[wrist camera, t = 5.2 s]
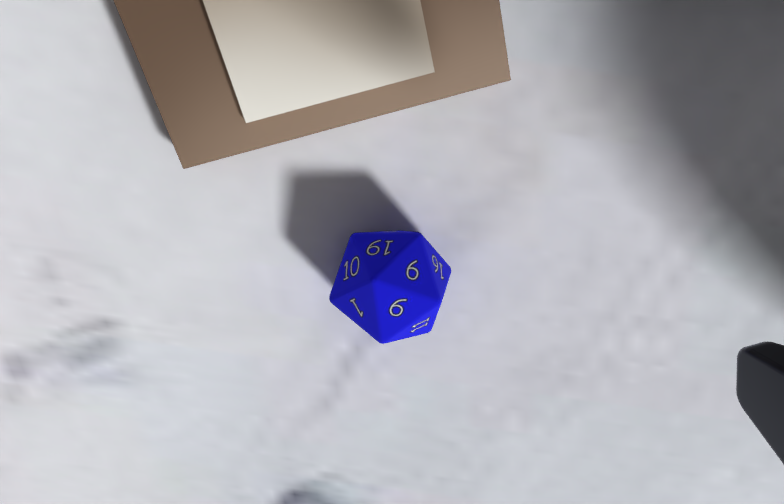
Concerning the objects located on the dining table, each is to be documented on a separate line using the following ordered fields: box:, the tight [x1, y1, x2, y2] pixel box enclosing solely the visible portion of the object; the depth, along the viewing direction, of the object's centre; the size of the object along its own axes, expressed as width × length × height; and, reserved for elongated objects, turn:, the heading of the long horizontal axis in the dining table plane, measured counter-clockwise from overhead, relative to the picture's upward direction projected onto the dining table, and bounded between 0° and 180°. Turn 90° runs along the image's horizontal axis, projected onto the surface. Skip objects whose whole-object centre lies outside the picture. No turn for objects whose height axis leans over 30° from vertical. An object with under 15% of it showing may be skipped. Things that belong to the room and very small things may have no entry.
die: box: [330, 230, 451, 344], centre depth 13 cm, size 3×3×3 cm
